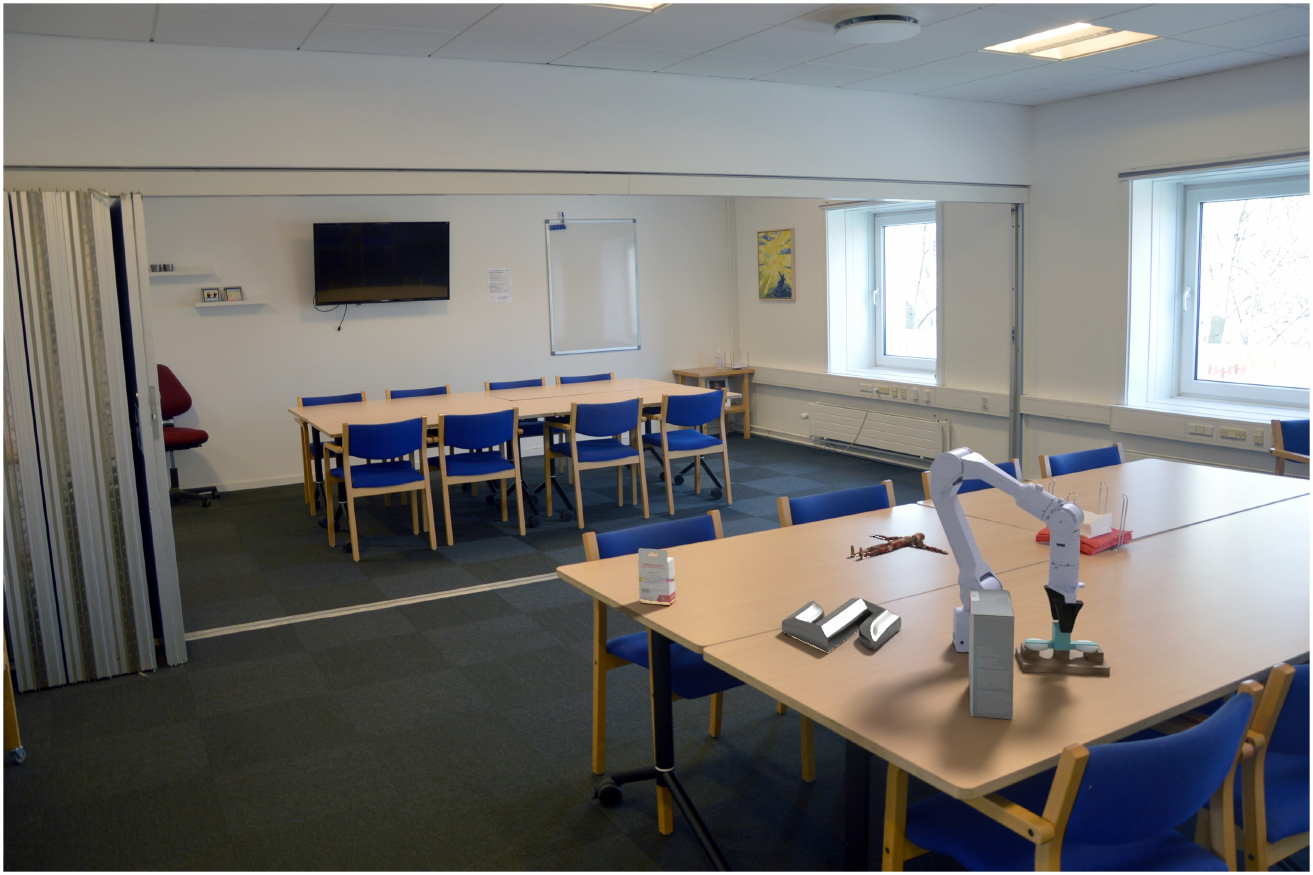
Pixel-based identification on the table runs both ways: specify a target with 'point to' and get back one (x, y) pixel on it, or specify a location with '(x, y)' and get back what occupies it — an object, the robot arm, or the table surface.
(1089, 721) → the table surface
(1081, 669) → the display stand
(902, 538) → the mannequin
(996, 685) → the hard drive box
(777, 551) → the table surface
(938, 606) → the table surface
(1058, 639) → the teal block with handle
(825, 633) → the emblem
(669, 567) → the ink cartridge box
